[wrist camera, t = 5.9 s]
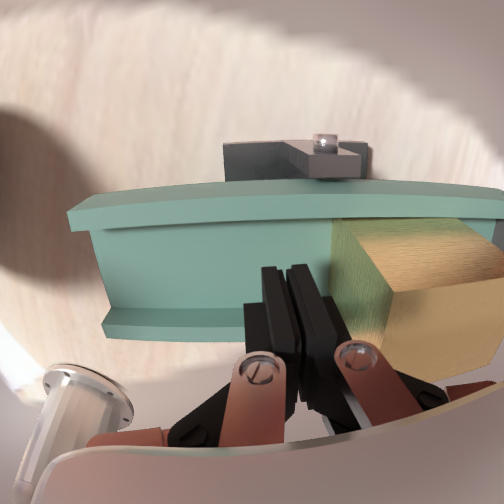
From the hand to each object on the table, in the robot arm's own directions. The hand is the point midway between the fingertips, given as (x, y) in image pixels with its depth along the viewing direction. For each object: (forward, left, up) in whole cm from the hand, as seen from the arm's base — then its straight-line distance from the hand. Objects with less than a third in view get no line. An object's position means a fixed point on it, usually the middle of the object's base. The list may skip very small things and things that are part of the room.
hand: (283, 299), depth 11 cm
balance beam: (0, -3, -5) cm, 5 cm away
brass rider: (0, -6, -3) cm, 7 cm away
